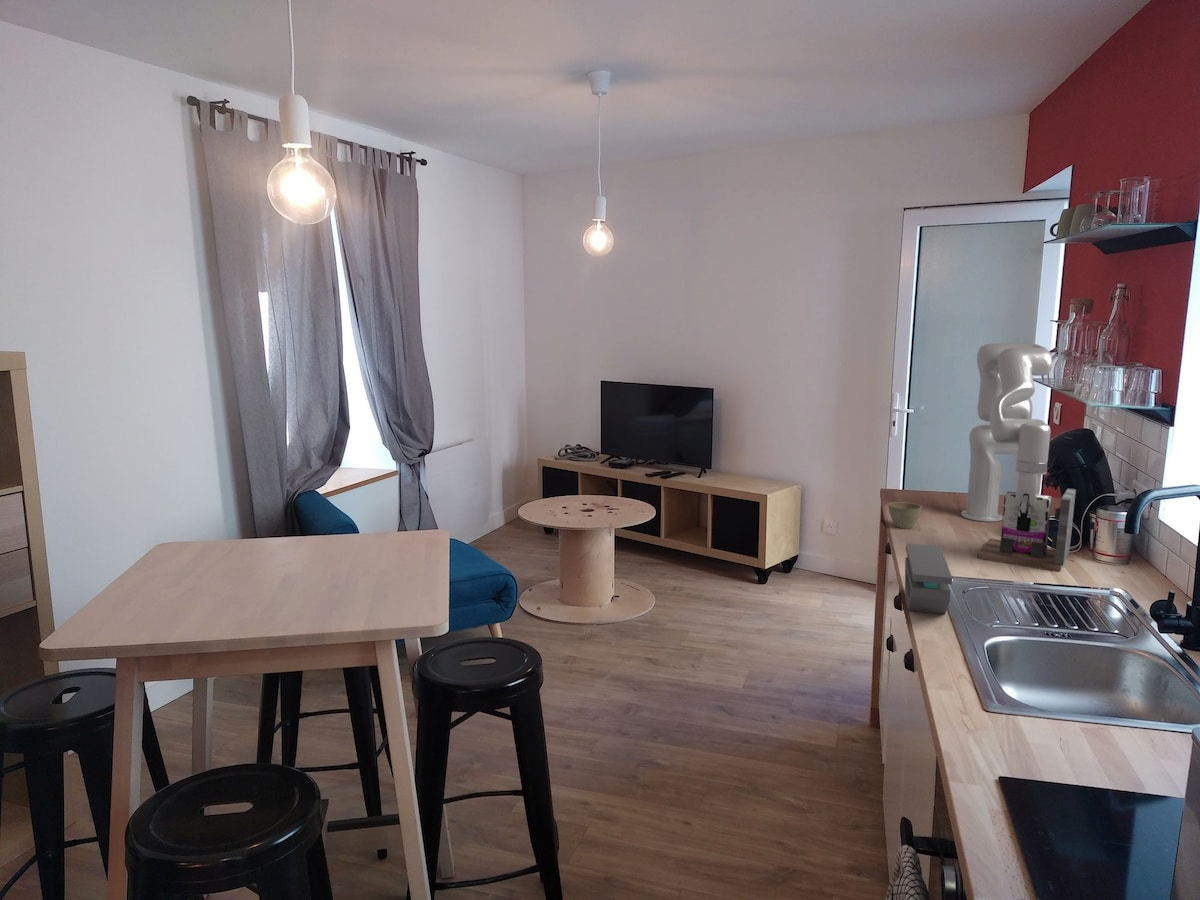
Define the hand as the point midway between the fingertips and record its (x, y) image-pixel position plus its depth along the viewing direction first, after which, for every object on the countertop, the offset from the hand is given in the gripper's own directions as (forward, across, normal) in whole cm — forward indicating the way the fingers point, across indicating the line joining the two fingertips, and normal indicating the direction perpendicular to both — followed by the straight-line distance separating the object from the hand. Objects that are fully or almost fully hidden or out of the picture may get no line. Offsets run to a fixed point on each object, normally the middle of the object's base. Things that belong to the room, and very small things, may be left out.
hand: (1025, 527), depth 214 cm
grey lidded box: (+9, +55, -13) cm, 57 cm away
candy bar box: (+7, 0, 0) cm, 7 cm away
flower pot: (+9, -13, -36) cm, 39 cm away
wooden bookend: (+9, 0, 0) cm, 9 cm away
